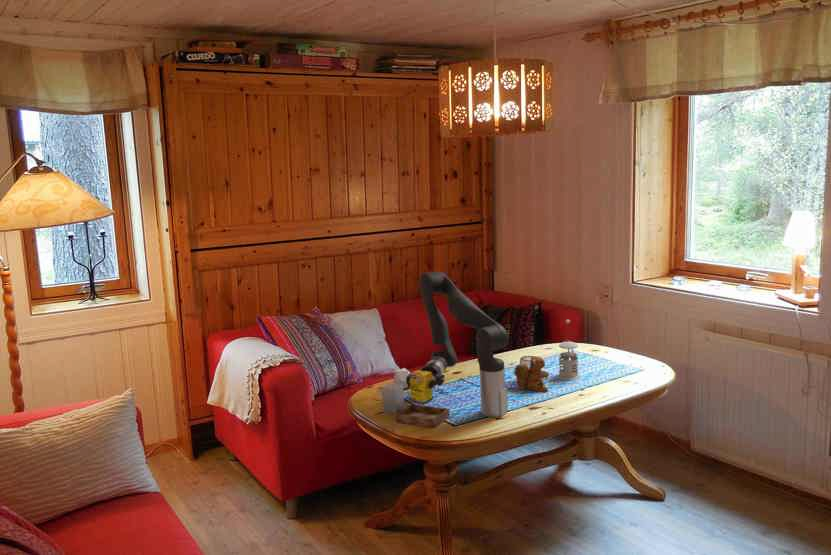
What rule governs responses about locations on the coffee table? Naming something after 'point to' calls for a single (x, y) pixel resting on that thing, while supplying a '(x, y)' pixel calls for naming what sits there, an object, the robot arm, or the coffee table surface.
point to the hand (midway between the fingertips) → (419, 385)
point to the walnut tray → (423, 415)
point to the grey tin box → (392, 398)
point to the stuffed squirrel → (532, 375)
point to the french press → (568, 366)
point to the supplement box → (420, 386)
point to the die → (401, 377)
